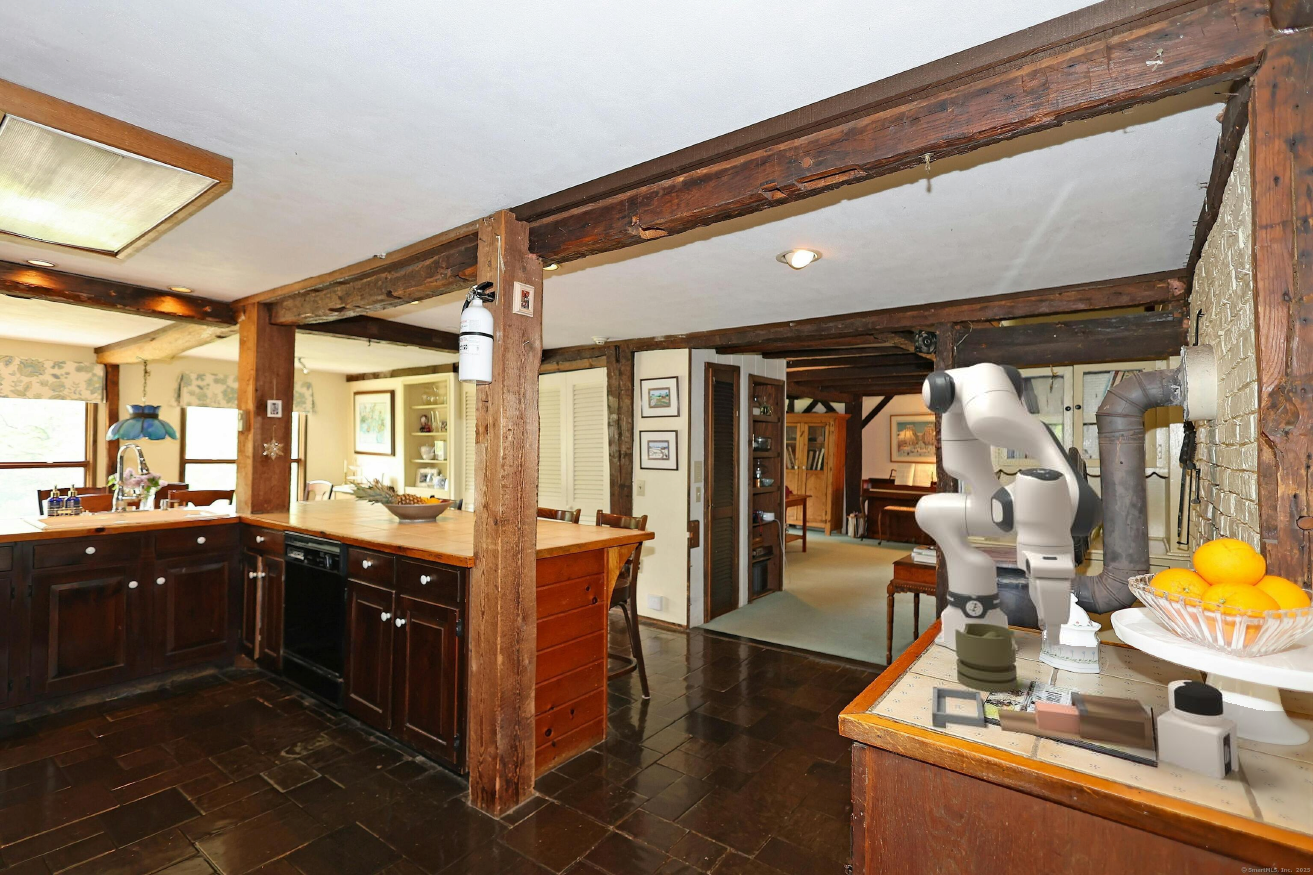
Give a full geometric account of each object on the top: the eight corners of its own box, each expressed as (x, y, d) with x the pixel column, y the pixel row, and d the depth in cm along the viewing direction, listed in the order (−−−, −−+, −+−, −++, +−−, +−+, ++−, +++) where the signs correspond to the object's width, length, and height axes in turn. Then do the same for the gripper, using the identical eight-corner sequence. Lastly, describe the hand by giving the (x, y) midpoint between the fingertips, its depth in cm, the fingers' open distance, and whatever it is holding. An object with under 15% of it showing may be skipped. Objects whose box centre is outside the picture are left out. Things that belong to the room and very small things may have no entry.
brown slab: (997, 713, 121) (996, 681, 121) (1137, 730, 112) (1136, 696, 112) (1002, 735, 112) (1000, 701, 112) (1155, 756, 103) (1153, 719, 103)
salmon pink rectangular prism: (1035, 718, 116) (1034, 701, 116) (1100, 726, 112) (1100, 708, 112) (1038, 727, 112) (1037, 709, 112) (1106, 736, 108) (1105, 717, 108)
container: (1239, 770, 98) (1235, 686, 98) (1221, 786, 94) (1216, 698, 94) (1178, 751, 104) (1174, 672, 104) (1158, 765, 100) (1154, 682, 100)
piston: (946, 631, 134) (966, 620, 142) (949, 687, 134) (969, 673, 142) (1004, 641, 126) (1022, 629, 134) (1007, 701, 126) (1024, 685, 134)
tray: (933, 698, 129) (933, 686, 129) (980, 703, 125) (980, 691, 126) (932, 725, 117) (932, 712, 117) (984, 732, 113) (984, 719, 113)
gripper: (1018, 549, 124) (1022, 619, 124) (1032, 568, 106) (1036, 651, 105) (1056, 550, 122) (1059, 622, 121) (1076, 570, 103) (1081, 655, 103)
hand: (1048, 636), depth 113 cm, fingers open, 8 cm apart
